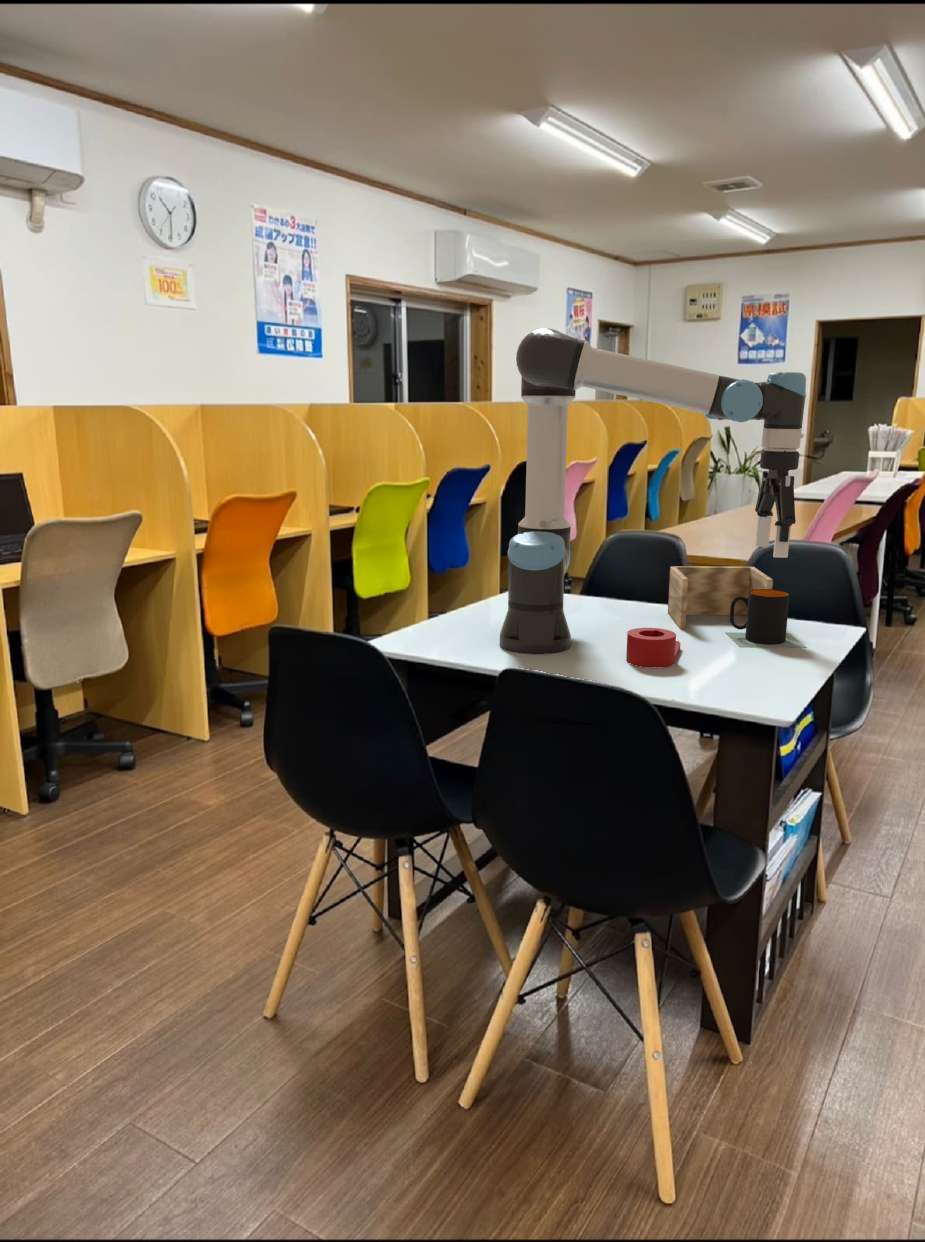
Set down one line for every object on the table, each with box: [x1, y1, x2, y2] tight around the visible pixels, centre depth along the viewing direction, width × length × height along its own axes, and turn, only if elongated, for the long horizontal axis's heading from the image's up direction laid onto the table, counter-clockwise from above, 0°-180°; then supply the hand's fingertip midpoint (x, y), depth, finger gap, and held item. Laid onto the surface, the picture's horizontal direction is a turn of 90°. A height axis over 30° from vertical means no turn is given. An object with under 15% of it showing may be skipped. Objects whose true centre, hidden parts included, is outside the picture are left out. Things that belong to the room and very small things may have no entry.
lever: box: [625, 627, 681, 669], centre depth 180 cm, size 18×9×7 cm, turn 146°
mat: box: [725, 631, 808, 649], centre depth 193 cm, size 14×12×1 cm
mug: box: [729, 588, 790, 645], centre depth 193 cm, size 8×12×10 cm
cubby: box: [667, 565, 774, 630], centre depth 209 cm, size 20×16×12 cm
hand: (770, 551), depth 188 cm, fingers open, 13 cm apart
